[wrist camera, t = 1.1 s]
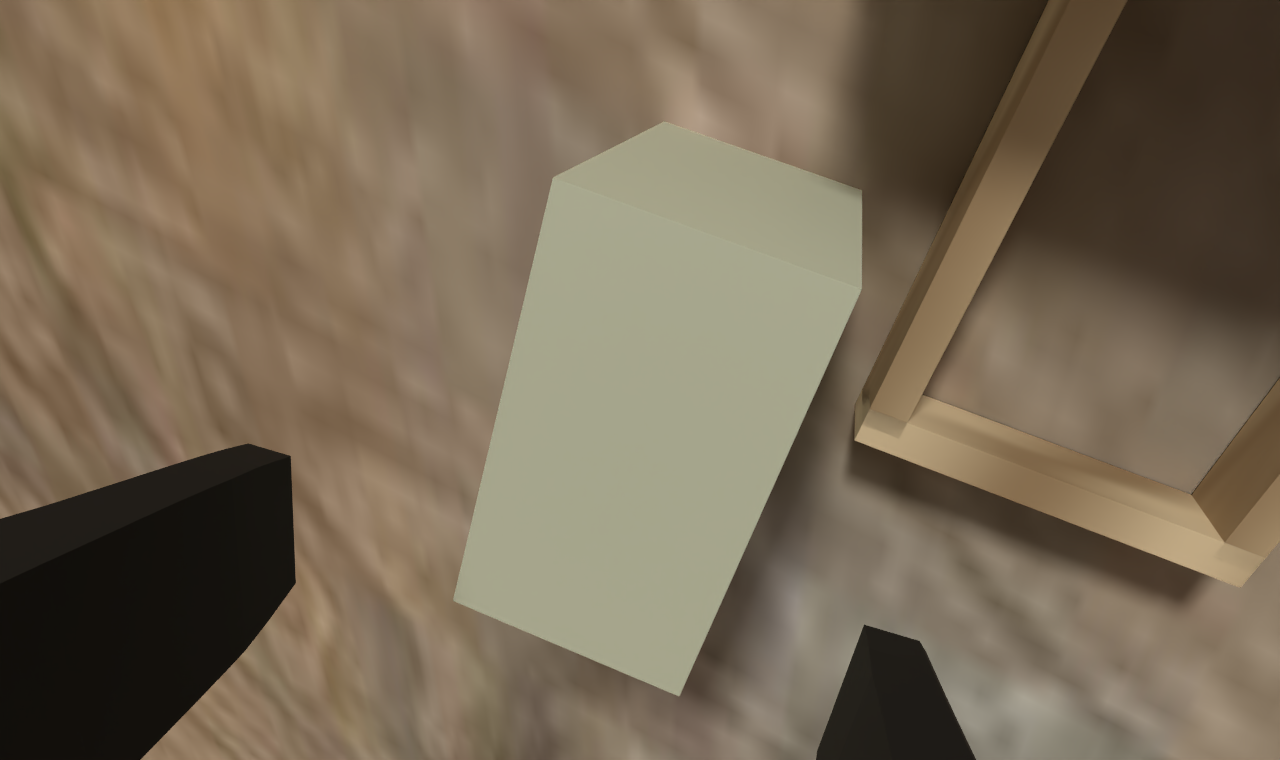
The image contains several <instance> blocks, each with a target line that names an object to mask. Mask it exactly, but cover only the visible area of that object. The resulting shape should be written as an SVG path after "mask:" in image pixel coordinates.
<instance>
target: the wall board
mask: <svg viewBox="0 0 1280 760" xmlns="http://www.w3.org/2000/svg"><path fill="white" fill-rule="evenodd" d="M1126 2H1127V0H1049V1H1048V3H1047V5H1046V7H1045V9H1044V11H1043V13H1042V15H1041V17H1040V20H1039V22H1038V24H1037V26H1036V28H1035V30H1034V32H1033V34H1032V36H1031V38H1030V40H1029V43H1028V45H1027V47H1026V49H1025V51H1024V53H1023V55H1022V57H1021V59H1020V61H1019V63H1018V65H1017V68H1016V70H1015V72H1014V74H1013V76H1012V78H1011V80H1010V82H1009V84H1008V86H1007V88H1006V91H1005V93H1004V95H1003V97H1002V99H1001V101H1000V103H999V105H998V107H997V109H996V111H995V114H994V116H993V118H992V120H991V122H990V124H989V126H988V128H987V130H986V132H985V134H984V136H983V139H982V141H981V143H980V145H979V147H978V149H977V151H976V153H975V155H974V157H973V159H972V162H971V164H970V166H969V168H968V170H967V172H966V174H965V176H964V178H963V180H962V182H961V185H960V187H959V189H958V191H957V193H956V195H955V197H954V199H953V201H952V203H951V205H950V207H949V210H948V212H947V214H946V216H945V218H944V220H943V222H942V224H941V226H940V228H939V230H938V233H937V235H936V237H935V239H934V241H933V243H932V245H931V247H930V249H929V251H928V253H927V256H926V258H925V260H924V262H923V264H922V266H921V268H920V270H919V272H918V274H917V276H916V279H915V281H914V283H913V285H912V287H911V289H910V291H909V293H908V295H907V297H906V299H905V301H904V304H903V306H902V308H901V310H900V312H899V314H898V316H897V318H896V320H895V322H894V324H893V327H892V329H891V331H890V333H889V335H888V337H887V339H886V341H885V343H884V345H883V347H882V350H881V352H880V354H879V356H878V358H877V360H876V362H875V364H874V366H873V368H872V370H871V372H870V375H869V377H868V379H867V381H866V383H865V385H864V387H863V389H862V391H861V393H860V395H859V398H858V400H857V402H856V404H855V436H854V440H855V441H857V442H860V443H863V444H865V445H868V446H870V447H873V448H876V449H878V450H881V451H884V452H886V453H889V454H891V455H894V456H897V457H899V458H902V459H904V460H907V461H910V462H912V463H915V464H918V465H920V466H923V467H925V468H928V469H931V470H933V471H936V472H939V473H941V474H944V475H946V476H949V477H952V478H954V479H957V480H959V481H962V482H965V483H967V484H970V485H973V486H975V487H978V488H980V489H983V490H986V491H988V492H991V493H993V494H996V495H999V496H1001V497H1004V498H1007V499H1009V500H1012V501H1014V502H1017V503H1020V504H1022V505H1025V506H1028V507H1030V508H1033V509H1035V510H1038V511H1041V512H1043V513H1046V514H1048V515H1051V516H1054V517H1056V518H1059V519H1062V520H1064V521H1067V522H1069V523H1072V524H1075V525H1077V526H1080V527H1082V528H1085V529H1088V530H1090V531H1093V532H1096V533H1098V534H1101V535H1103V536H1106V537H1109V538H1111V539H1114V540H1117V541H1119V542H1122V543H1124V544H1127V545H1130V546H1132V547H1135V548H1137V549H1140V550H1143V551H1145V552H1148V553H1151V554H1153V555H1156V556H1158V557H1161V558H1164V559H1166V560H1169V561H1171V562H1174V563H1177V564H1179V565H1182V566H1185V567H1187V568H1190V569H1192V570H1195V571H1198V572H1200V573H1203V574H1206V575H1208V576H1211V577H1213V578H1216V579H1219V580H1221V581H1224V582H1226V583H1229V584H1232V585H1234V586H1237V587H1240V588H1241V586H1242V585H1243V584H1244V583H1245V582H1246V580H1247V579H1248V578H1249V577H1250V576H1251V575H1252V573H1253V572H1254V571H1255V570H1256V569H1257V567H1258V566H1259V565H1260V564H1261V563H1262V562H1263V560H1264V559H1265V558H1266V557H1267V556H1268V554H1269V553H1270V552H1271V551H1272V550H1273V549H1274V547H1275V546H1276V545H1277V544H1278V543H1279V541H1280V378H1279V380H1278V381H1277V382H1276V384H1275V385H1274V386H1273V388H1272V389H1271V390H1270V392H1269V393H1268V394H1267V396H1266V397H1265V398H1264V400H1263V401H1262V402H1261V404H1260V405H1259V406H1258V408H1257V409H1256V410H1255V412H1254V413H1253V414H1252V416H1251V417H1250V418H1249V419H1248V421H1247V422H1246V423H1245V425H1244V426H1243V427H1242V429H1241V430H1240V431H1239V433H1238V434H1237V435H1236V437H1235V438H1234V439H1233V441H1232V442H1231V443H1230V445H1229V446H1228V447H1227V449H1226V450H1225V451H1224V453H1223V454H1222V455H1221V457H1220V458H1219V459H1218V461H1217V462H1216V463H1215V465H1214V466H1213V467H1212V469H1211V470H1210V471H1209V473H1208V474H1207V475H1206V477H1205V478H1204V479H1203V480H1202V482H1201V483H1200V484H1199V486H1198V487H1197V488H1196V490H1195V491H1194V492H1193V494H1192V495H1190V494H1188V493H1185V492H1182V491H1179V490H1177V489H1174V488H1171V487H1169V486H1166V485H1163V484H1161V483H1158V482H1155V481H1153V480H1150V479H1147V478H1145V477H1142V476H1139V475H1137V474H1134V473H1131V472H1128V471H1126V470H1123V469H1120V468H1118V467H1115V466H1112V465H1110V464H1107V463H1104V462H1102V461H1099V460H1096V459H1094V458H1091V457H1088V456H1086V455H1083V454H1080V453H1078V452H1075V451H1072V450H1069V449H1067V448H1064V447H1061V446H1059V445H1056V444H1053V443H1051V442H1048V441H1045V440H1043V439H1040V438H1037V437H1035V436H1032V435H1029V434H1027V433H1024V432H1021V431H1018V430H1016V429H1013V428H1010V427H1008V426H1005V425H1002V424H1000V423H997V422H994V421H992V420H989V419H986V418H984V417H981V416H978V415H976V414H973V413H970V412H968V411H965V410H962V409H959V408H957V407H954V406H951V405H949V404H946V403H943V402H941V401H938V400H935V399H933V398H930V397H927V396H925V395H922V394H923V392H924V390H925V388H926V386H927V384H928V382H929V380H930V378H931V376H932V374H933V372H934V370H935V369H936V367H937V365H938V363H939V361H940V359H941V357H942V355H943V353H944V351H945V349H946V347H947V346H948V344H949V342H950V340H951V338H952V336H953V334H954V332H955V330H956V328H957V326H958V324H959V322H960V321H961V319H962V317H963V315H964V313H965V311H966V309H967V307H968V305H969V303H970V301H971V299H972V298H973V296H974V294H975V292H976V290H977V288H978V286H979V284H980V282H981V280H982V278H983V276H984V274H985V273H986V271H987V269H988V267H989V265H990V263H991V261H992V259H993V257H994V255H995V253H996V251H997V249H998V248H999V246H1000V244H1001V242H1002V240H1003V238H1004V236H1005V234H1006V232H1007V230H1008V228H1009V226H1010V225H1011V223H1012V221H1013V219H1014V217H1015V215H1016V213H1017V211H1018V209H1019V207H1020V205H1021V203H1022V201H1023V200H1024V198H1025V196H1026V194H1027V192H1028V190H1029V188H1030V186H1031V184H1032V182H1033V180H1034V178H1035V177H1036V175H1037V173H1038V171H1039V169H1040V167H1041V165H1042V163H1043V161H1044V159H1045V157H1046V155H1047V153H1048V152H1049V150H1050V148H1051V146H1052V144H1053V142H1054V140H1055V138H1056V136H1057V134H1058V132H1059V130H1060V129H1061V127H1062V125H1063V123H1064V121H1065V119H1066V117H1067V115H1068V113H1069V111H1070V109H1071V107H1072V105H1073V104H1074V102H1075V100H1076V98H1077V96H1078V94H1079V92H1080V90H1081V88H1082V86H1083V84H1084V82H1085V80H1086V79H1087V77H1088V75H1089V73H1090V71H1091V69H1092V67H1093V65H1094V63H1095V61H1096V59H1097V57H1098V56H1099V54H1100V52H1101V50H1102V48H1103V46H1104V44H1105V42H1106V40H1107V38H1108V36H1109V34H1110V32H1111V31H1112V29H1113V27H1114V25H1115V23H1116V21H1117V19H1118V17H1119V15H1120V13H1121V11H1122V9H1123V8H1124V6H1125V4H1126Z"/></svg>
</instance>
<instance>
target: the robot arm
mask: <svg viewBox="0 0 1280 760" xmlns="http://www.w3.org/2000/svg"><path fill="white" fill-rule="evenodd" d="M295 583H296V580H295V555H294V530H293V505H292V480H291V456H289V455H285V454H282V453H278V452H275V451H272V450H268V449H265V448H261V447H258V446H255V445H251V444H244V445H240V446H236V447H232V448H228V449H224V450H221V451H217V452H214V453H210V454H207V455H204V456H200V457H197V458H194V459H190V460H187V461H184V462H181V463H178V464H174V465H171V466H168V467H165V468H162V469H159V470H156V471H153V472H149V473H146V474H143V475H140V476H137V477H134V478H131V479H128V480H125V481H122V482H118V483H115V484H112V485H109V486H106V487H103V488H100V489H97V490H93V491H90V492H87V493H84V494H81V495H78V496H75V497H72V498H68V499H65V500H62V501H59V502H56V503H53V504H50V505H46V506H43V507H40V508H36V509H33V510H29V511H26V512H23V513H19V514H16V515H12V516H9V517H5V518H2V519H0V760H140V759H141V758H142V757H143V756H144V755H145V754H146V753H147V752H148V751H149V750H150V749H151V748H152V747H153V746H154V745H155V744H156V743H157V742H158V741H159V740H160V739H161V738H162V737H163V736H164V735H165V734H166V733H167V732H168V731H169V730H170V729H171V728H172V727H173V726H174V725H175V723H176V722H177V721H178V720H179V719H180V718H181V717H182V716H183V715H184V714H185V713H186V712H187V711H188V710H189V709H190V708H191V707H192V706H193V705H194V704H195V703H196V702H197V701H198V700H199V699H200V698H201V697H202V696H203V695H204V694H205V693H206V691H207V690H208V689H209V688H210V687H211V686H212V685H213V684H214V683H215V682H216V681H217V680H218V679H219V678H220V677H221V676H222V675H223V674H224V673H225V672H226V671H227V669H228V668H229V667H230V666H231V665H232V664H233V663H234V662H235V661H236V660H237V659H238V658H239V657H240V656H241V654H242V653H243V652H244V651H245V650H246V649H247V648H248V646H249V645H250V644H251V642H252V641H253V640H254V639H255V637H256V636H257V635H258V633H259V632H260V631H261V630H262V628H263V627H264V626H265V624H266V623H267V622H268V621H269V619H270V618H271V617H272V615H273V614H274V612H275V611H276V610H277V608H278V607H279V605H280V604H281V603H282V601H283V600H284V598H285V597H286V596H287V594H288V593H289V592H290V590H291V589H292V587H293V586H294V585H295ZM816 760H976V759H975V757H974V754H973V752H972V750H971V748H970V746H969V744H968V742H967V740H966V738H965V736H964V734H963V732H962V729H961V727H960V725H959V723H958V721H957V719H956V717H955V715H954V713H953V710H952V708H951V706H950V704H949V702H948V700H947V697H946V695H945V693H944V691H943V689H942V686H941V684H940V682H939V680H938V678H937V675H936V673H935V671H934V669H933V666H932V664H931V662H930V660H929V658H928V655H927V653H926V651H925V650H924V648H923V646H922V644H921V643H920V641H917V640H914V639H911V638H907V637H904V636H900V635H897V634H894V633H890V632H887V631H883V630H880V629H877V628H873V627H870V626H866V625H864V627H863V629H862V632H861V635H860V637H859V640H858V643H857V646H856V648H855V651H854V654H853V656H852V659H851V662H850V664H849V667H848V670H847V672H846V675H845V678H844V681H843V683H842V686H841V689H840V691H839V694H838V697H837V699H836V702H835V705H834V707H833V710H832V713H831V716H830V718H829V721H828V724H827V726H826V729H825V732H824V734H823V737H822V740H821V743H820V745H819V748H818V751H817V758H816Z"/></svg>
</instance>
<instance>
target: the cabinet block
mask: <svg viewBox="0 0 1280 760" xmlns="http://www.w3.org/2000/svg"><path fill="white" fill-rule="evenodd" d="M861 290H862V190H860V189H857V188H854V187H851V186H848V185H845V184H843V183H840V182H837V181H834V180H831V179H828V178H825V177H822V176H820V175H817V174H814V173H811V172H808V171H805V170H802V169H800V168H797V167H794V166H791V165H788V164H785V163H782V162H779V161H777V160H774V159H771V158H768V157H765V156H762V155H759V154H757V153H754V152H751V151H748V150H745V149H742V148H739V147H736V146H734V145H731V144H728V143H725V142H722V141H719V140H716V139H714V138H711V137H708V136H705V135H702V134H699V133H696V132H693V131H691V130H688V129H685V128H682V127H679V126H676V125H673V124H671V123H668V122H665V121H664V122H662V123H660V124H658V125H656V126H654V127H652V128H650V129H648V130H646V131H644V132H643V133H641V134H639V135H637V136H635V137H633V138H631V139H629V140H627V141H625V142H623V143H621V144H619V145H617V146H615V147H613V148H611V149H609V150H607V151H605V152H603V153H601V154H599V155H597V156H595V157H593V158H591V159H589V160H587V161H585V162H583V163H581V164H579V165H577V166H575V167H573V168H571V169H569V170H567V171H565V172H563V173H561V174H559V175H557V176H555V177H553V180H552V184H551V189H550V193H549V197H548V201H547V206H546V210H545V214H544V218H543V222H542V227H541V231H540V235H539V239H538V244H537V248H536V252H535V256H534V260H533V265H532V269H531V273H530V277H529V282H528V286H527V290H526V294H525V299H524V303H523V307H522V311H521V315H520V320H519V324H518V328H517V332H516V337H515V341H514V345H513V349H512V354H511V358H510V362H509V366H508V370H507V375H506V379H505V383H504V387H503V392H502V396H501V400H500V404H499V409H498V413H497V417H496V421H495V425H494V430H493V434H492V438H491V442H490V447H489V451H488V455H487V459H486V463H485V468H484V472H483V476H482V480H481V485H480V489H479V493H478V497H477V502H476V506H475V510H474V514H473V518H472V523H471V527H470V531H469V535H468V540H467V544H466V548H465V552H464V557H463V561H462V565H461V569H460V573H459V578H458V582H457V586H456V590H455V595H454V599H453V601H455V602H457V603H459V604H462V605H464V606H466V607H469V608H471V609H474V610H476V611H478V612H481V613H483V614H485V615H488V616H490V617H492V618H495V619H497V620H500V621H502V622H504V623H507V624H509V625H511V626H514V627H516V628H518V629H521V630H523V631H526V632H528V633H530V634H533V635H535V636H537V637H540V638H542V639H544V640H547V641H549V642H552V643H554V644H556V645H559V646H561V647H563V648H566V649H568V650H570V651H573V652H575V653H577V654H580V655H582V656H585V657H587V658H589V659H592V660H594V661H596V662H599V663H601V664H603V665H606V666H608V667H611V668H613V669H615V670H618V671H620V672H622V673H625V674H627V675H629V676H632V677H634V678H637V679H639V680H641V681H644V682H646V683H648V684H651V685H653V686H655V687H658V688H660V689H662V690H665V691H667V692H670V693H672V694H674V695H677V696H680V694H681V691H682V689H683V687H684V685H685V682H686V680H687V678H688V676H689V674H690V671H691V669H692V667H693V665H694V662H695V660H696V658H697V656H698V653H699V651H700V649H701V647H702V645H703V642H704V640H705V638H706V636H707V633H708V631H709V629H710V627H711V624H712V622H713V620H714V618H715V616H716V613H717V611H718V609H719V607H720V604H721V602H722V600H723V598H724V595H725V593H726V591H727V589H728V587H729V584H730V582H731V580H732V578H733V575H734V573H735V571H736V569H737V566H738V564H739V562H740V560H741V558H742V555H743V553H744V551H745V549H746V546H747V544H748V542H749V540H750V537H751V535H752V533H753V531H754V529H755V526H756V524H757V522H758V520H759V517H760V515H761V513H762V511H763V508H764V506H765V504H766V502H767V500H768V497H769V495H770V493H771V491H772V488H773V486H774V484H775V482H776V479H777V477H778V475H779V473H780V471H781V468H782V466H783V464H784V462H785V459H786V457H787V455H788V453H789V450H790V448H791V446H792V444H793V442H794V439H795V437H796V435H797V433H798V430H799V428H800V426H801V424H802V421H803V419H804V417H805V415H806V413H807V410H808V408H809V406H810V404H811V401H812V399H813V397H814V395H815V392H816V390H817V388H818V386H819V384H820V381H821V379H822V377H823V375H824V372H825V370H826V368H827V366H828V363H829V361H830V359H831V357H832V355H833V352H834V350H835V348H836V346H837V343H838V341H839V339H840V337H841V334H842V332H843V330H844V328H845V326H846V323H847V321H848V319H849V317H850V314H851V312H852V310H853V308H854V305H855V303H856V301H857V299H858V297H859V294H860V292H861Z"/></svg>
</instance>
